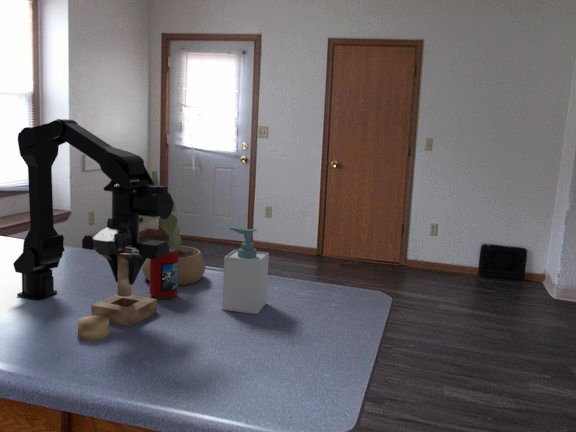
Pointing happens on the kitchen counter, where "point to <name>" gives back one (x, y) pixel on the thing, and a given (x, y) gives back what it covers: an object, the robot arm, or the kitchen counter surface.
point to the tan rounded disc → (93, 327)
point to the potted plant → (177, 248)
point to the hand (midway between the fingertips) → (124, 283)
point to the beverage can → (164, 275)
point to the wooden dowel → (123, 276)
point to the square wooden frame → (125, 309)
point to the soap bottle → (245, 277)
